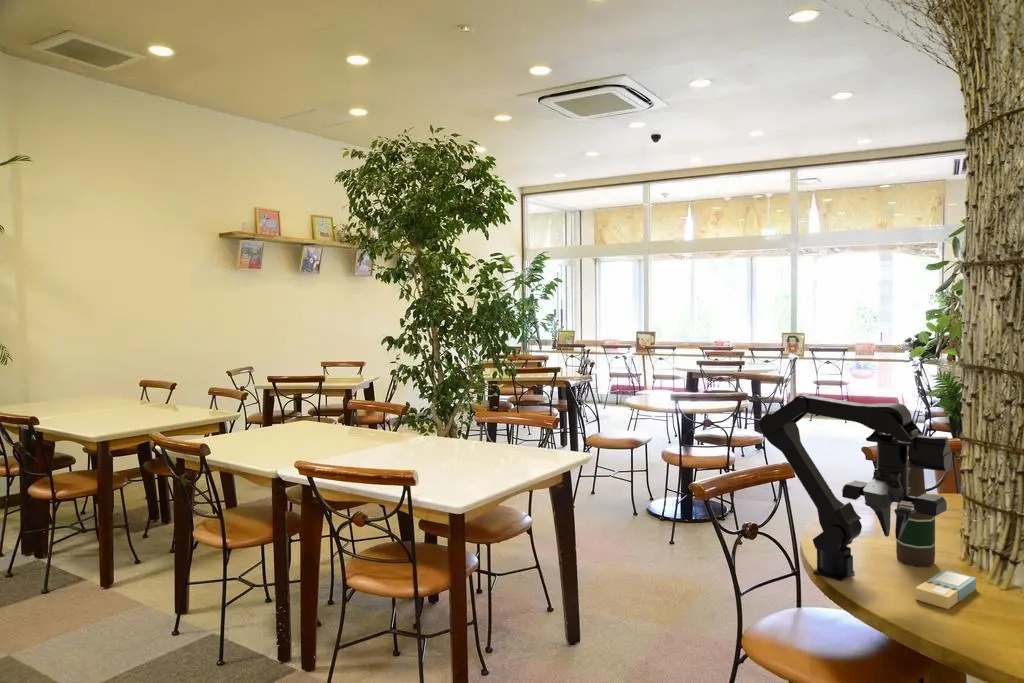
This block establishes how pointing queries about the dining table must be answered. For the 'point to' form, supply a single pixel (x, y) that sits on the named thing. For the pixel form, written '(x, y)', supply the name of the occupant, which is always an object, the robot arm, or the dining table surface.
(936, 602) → the stub
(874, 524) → the dining table surface
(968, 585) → the pale blue pin-sided card
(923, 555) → the beer bottle
